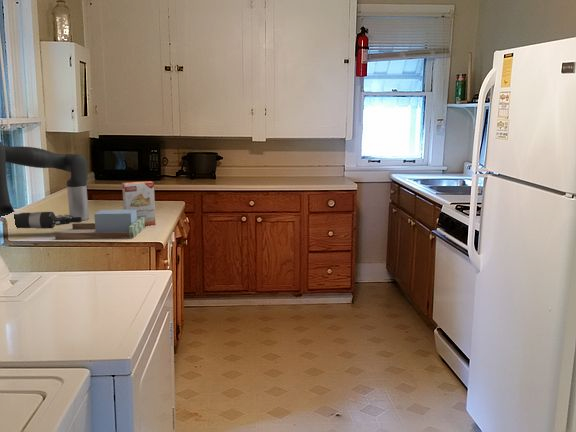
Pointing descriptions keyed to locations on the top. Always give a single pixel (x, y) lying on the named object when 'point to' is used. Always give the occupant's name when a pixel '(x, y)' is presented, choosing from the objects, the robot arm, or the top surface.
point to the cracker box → (140, 200)
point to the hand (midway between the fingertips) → (81, 219)
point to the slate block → (114, 220)
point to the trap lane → (133, 231)
